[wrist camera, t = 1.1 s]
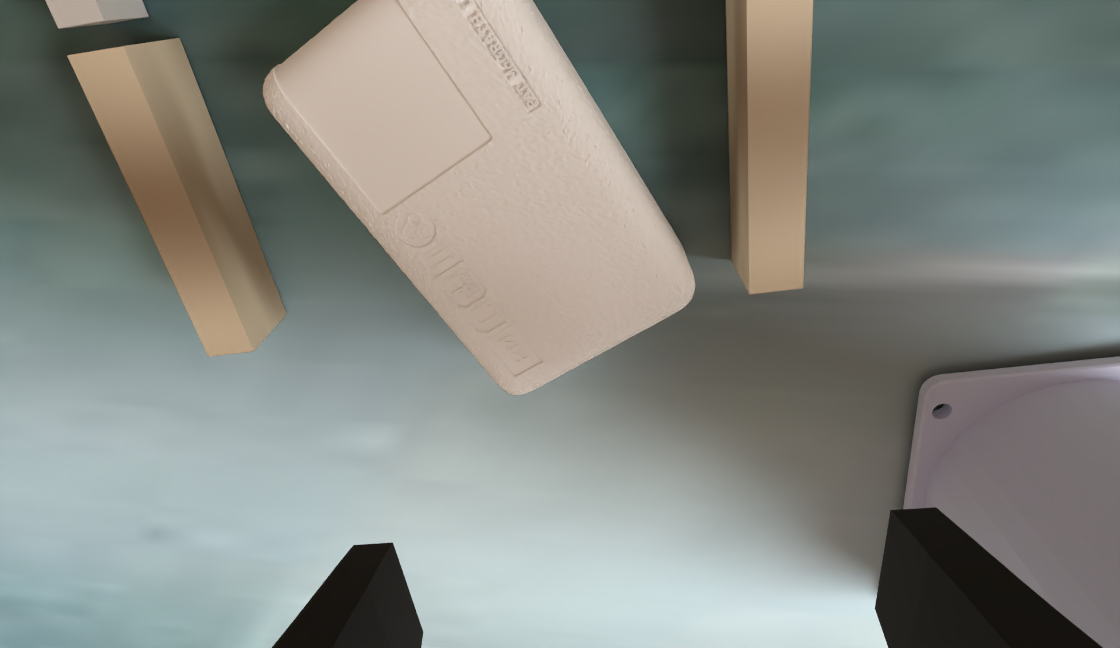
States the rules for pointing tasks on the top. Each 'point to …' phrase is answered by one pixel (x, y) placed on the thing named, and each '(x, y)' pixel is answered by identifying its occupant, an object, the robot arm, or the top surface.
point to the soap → (485, 178)
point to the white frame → (94, 11)
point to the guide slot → (230, 240)
